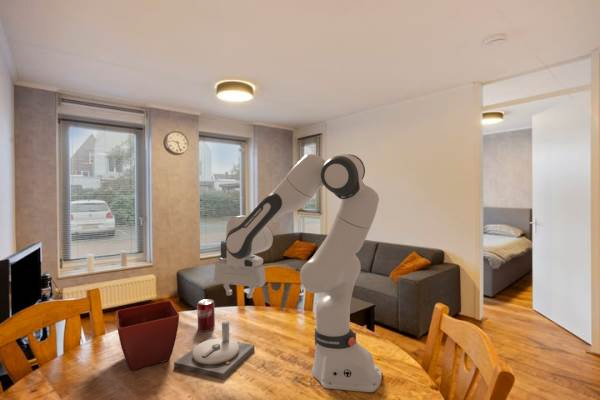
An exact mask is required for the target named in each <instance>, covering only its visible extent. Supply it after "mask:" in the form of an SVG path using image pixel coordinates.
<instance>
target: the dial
mask: <svg viewBox="0 0 600 400" xmlns="http://www.w3.org/2000/svg"><path fill="white" fill-rule="evenodd" d="M221 334H222V335H221V337H219V338H218V337H215V338H216V339H211V340H207V339H206V340H207V341H206V340H205V342H204V341H202V342H201V343H199V344H197V345H196V346H195V347H194V348H193V349H194V350H193V349H192V350H193V359H194V360H195V361H196V362H198V363H201V364H219V363H223V362H225V361H227V360H230V359H232V358H234V357H235V356H236V355H237V354H238V352H239V345H238V343H237V342H238V341H236V340H235V339H232V338H230V321H228V320H227V321H226V320H225V321H222V322H221Z"/></svg>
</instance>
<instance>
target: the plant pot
mask: <svg viewBox="0 0 600 400" xmlns="http://www.w3.org/2000/svg"><path fill="white" fill-rule="evenodd" d="M115 315H116V325H117V333H118V339H119V343H120V347H121V351H122V353H123V356H124V360H125V363H126V364H127V367H128V370H130V371H136V370H138V369H143V368H145V367H150V366H153V365H156V364H159V363H164V362H167V361H170V359H171V356H172V354H173V351H174V347H175V345H176V343H175V342H176V340H177V334H178V329H179V323H180V321H179V320H180V313H179V312H178V310H177V308H176V307H175V305H174V304H173V302H172V301H171V300H164V301H159V302H154V303H149V304H144V305H138V306H132V307H128V308H123V309H121V308H120V309H118V310H116V311H115Z"/></svg>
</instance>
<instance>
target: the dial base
mask: <svg viewBox="0 0 600 400" xmlns="http://www.w3.org/2000/svg"><path fill="white" fill-rule="evenodd" d="M216 338H217V337H212V336H210V337H209V338H207V339H206V340H205V341H207V340H211V339H216ZM205 341H203V342H205ZM236 342H237V343H238V345H239V352H238V354H237V355H236V356H235V357H234V358H232V359H230V360H227V361H225V362H223V363H219V364H201V363H198V362H196V361H195V360H194V359H193V350H194V348H193V349H191V350H190V351H189V352H187V353H186V354H184V355H183V356H181V357H180V358H178V359H177V360H175V361H173V367H174V369H176V370H180V371H185V372H189V373H192V374H193V373H194V374H197V375H202V376H206V377H209V378H215V379H219V380H223V381H224V380H225V379H226V378H227V377H228V376H230V374H231V373H233V371H234V370H236V369H237V368H238V366H240V365H241V364H242V363H243V362H244V361H245V360H246V359H247V358H248V357H249V356H251V354H252V353H253V352H254V351H255V344H252V343H251V344H250V343H246V342H245V343H244V342H241V341H236Z"/></svg>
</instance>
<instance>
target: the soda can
mask: <svg viewBox="0 0 600 400" xmlns="http://www.w3.org/2000/svg"><path fill="white" fill-rule="evenodd" d="M196 306H197V307H196V309H197V311H196V312H197V330H198V331H200V332H209V331H212V330H214V328H215V326H216V325H215V324H216V322H215V321H216V319H215V318H216V317H215V315H216V312H215V300H214V299H210V298H208V299H201V300H199V301H198V302H197V305H196Z"/></svg>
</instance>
